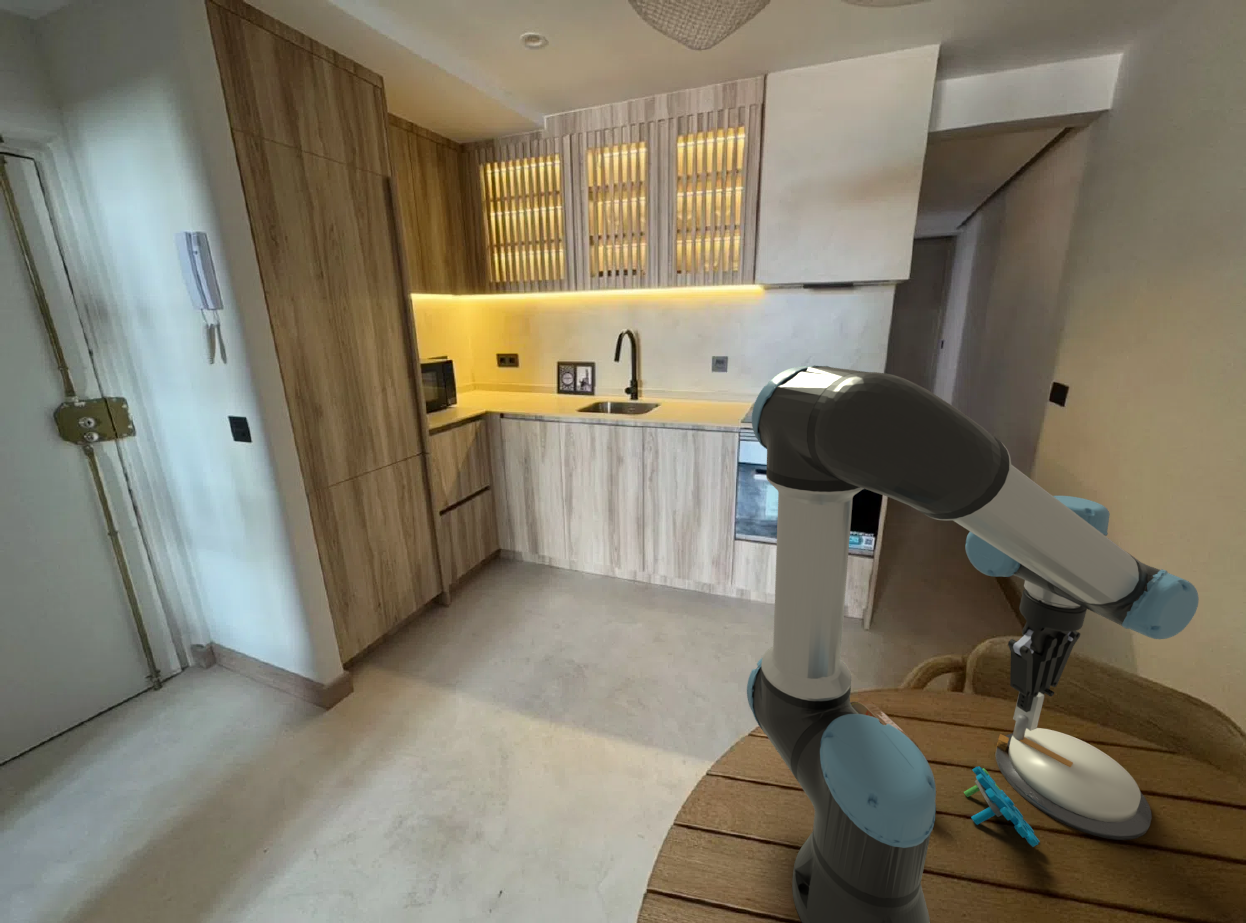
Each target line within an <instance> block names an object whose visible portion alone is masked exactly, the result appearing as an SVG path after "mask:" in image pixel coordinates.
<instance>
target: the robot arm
mask: <svg viewBox="0 0 1246 923" xmlns="http://www.w3.org/2000/svg"><path fill="white" fill-rule="evenodd" d="M751 411H752V412H751V427H752V431H753V433H754V434H753V435H754V436H755V438H756V440H757V441H758V442H759V444H760V446H762V447H763V448H764V449H766V473H765V474H766V481H768V482H769V483H770V484H771V486H773V487H774V488H775V489H776V490H777V493H778V494H777V495H778V497H777V499H778V500H777V522H776V523H777V529H776V530H777V531H776V551H775V552H776V555H775V582H774V583H775V584H774V585H775V586H774V609H773V610H774V615H773V616H774V617H773V618H774V619H773V639H772V640H773V642H772V643H773V645H772V647H770V648H769V649H767V650H766V651H765V652H764V654H763V656H762V657H761V658H760V659H759V660H758V661H757V663H756V666H757V667H756V668H753V669H751V672H750V674H749V676H748V680H747V683H746V684H747V685H746V698H747V702H748V706H749V709H750V710H751V713H752V714H753V717H754V720H755V722H756V723H757V725H758V727H759V728H760V729H761V731H763V733H764V735H765V736H766V737H767V739H768V740H769V742H770V743H771V745H772V746H773V747H774V748H775V750H776V751H777V753H778V754H779V756H780V758H781V759H782V761H783V762H784V763H785V765H786V766H787V768H788V770H790V772H791V773H792V776H793V777H794V778H795V779H796V781H797V782H798V784H799V786H800V787H801V788H802V790H803V791H804V793H805V795H806V796H807V798H808V799H809V801H810V802H811V804H812V806H813V810H814V816H813V817H814V818H813V825H812V826H813V827H812V832H811V833H810V834H809V835H808V838H807V839H806V840H805V841H804V843H803V844H802V846H801V848H800V849H799V850H798V853H797V855H796V858H795V860H794V866H793V871H792V881H791V882H792V883H791V884H792V887H791V890H792V897H793V902H794V906H795V909H796V912H797V915H798V917H799V919H800V921H801V923H931V921H930V915H929V910H928V907H927V903H926V899H925V895H924V892H923V887H922V879H923V872H924V868H925V864H926V863H925V862H926V860H927V859H926V858H927V854H928V848H929V844H930V840H931V835H932V832H933V829H934V826H935V821H936V812H937V811H936V810H937V807H936V806H937V805H936V799H937V798H936V796H937V794H936V793H937V789H936V788H937V787H936V780H935V776H934V774H933V773H934V772H933V771H932V768H931V766H930V764H929V762H928V760H927V759H926V757H925V755H924V754H923V752H922V751H920V750H921V749H920V747H919V746H918V747H919V748H918V747H917V746H916V745H915V744H914V743H913V742H912V741H911V740H910V739H909V738H908V737H907V736H906V735H905V734H903V733H902V732H901V731H899V730H898V729H897V728H895V727H893V726H892V725H890V724H887V725H882V724H881V723H880V722H879V719H877V718H875V717H871V716H868V715H863V714H858V713H857V712H856V711H855V709H854V708H853V707H852V705H851V703H850V702H851V692H852V673H851V670H850V668H849V667H848V665H847V664H846V663H845V662H844V660H842V658H841V656H842V653H841V652H842V644H843V642H842V640H843V631H844V630H843V628H844V616H845V602H846V601H845V600H846V587H847V576H848V575H847V574H848V565H849V564H848V561H849V549H850V537H851V536H850V535H851V524H852V510H853V500H854V499H853V498H854V496H855V495H857V494H858V493H859V492H861V491H862V490H868V491H871V492H873V493H875V494H879V495H882V496H884V497H888V498H890V499H893V500H896V501H897V502H900V503H902V504H904V505H908V506H910V507H911V508H913V509H915V510H917V511H919V512H920V513H922V514H923V515H925V516H927V517H928V518H931V519H934V520H938V521H953V522H954V523H956V524H958V525H959V526H961V527H963V528H964V529H966V530H967V531H969V532H968V534H967V536H966V540H965V546H964V547H965V553H966V555H967V558H968V560H969V562H970V563H971V564H972V566H973V567H974V568H975V569H976V570H977V571H979V572H980V573H981V574H983V575H985V576H987V577H988V576H990V577H997V578H998V577H1003V578H1005V577H1007V578H1009V577H1012V576H1015V577H1018V578H1019V579H1021V580H1024V584H1023V587H1024V589H1023V590H1022V593H1021V594H1022V595H1021V599H1020V603H1019V611H1020V614H1021V615H1022V616H1023V617H1024V619H1025V621H1026V623H1025V625H1024V627H1023V628H1022V631H1021V634H1022V636H1021V638H1019V640H1015V639H1013V638H1012V639H1010V640H1009V641H1007V642H1008V643H1007V645H1008V648H1009V651H1010V671H1009V672H1010V675H1009V676H1010V678H1009V680H1010V681H1009V682H1010V684H1009V685H1010V687H1011V688H1013V689H1014V690H1016V691H1017V692H1018V696H1017V701H1016V705H1015V709H1014V713H1013V716H1012V720H1014V721H1015V722H1016V719H1017V715H1018V714H1023V715H1025V716H1026V717H1028V723H1027V727H1026V728H1027V729H1028V730H1030V731H1032V730H1034V729H1037V728H1038V725H1039V722H1040V721H1039V720H1040V716H1041V711H1042V707H1043V703H1044V700H1045V696H1046V695H1047V696H1048V697H1053V696H1054V694H1055V692H1054V691H1053V690H1052V689H1051V687H1052V688H1056V687H1057V686H1058V684H1059V681H1060V679H1061V677H1062V674H1063V671H1064V670H1065V668H1066V665H1067V663H1068V660H1069V658H1070V656H1071V654H1072V650H1073V648H1074V646H1075V644H1076V643H1077V642H1078V640H1079V639H1080V637H1081V632H1079V630H1081V629H1083V626H1084V622H1085V618H1086V614H1087V611H1088V610H1089V611H1091V612H1093V613H1094V614H1097V615H1099V616H1101V617H1103V618H1104V619H1108V620H1109V621H1111V622H1114V623H1116V624H1118V625H1120V626H1122V628H1124V629H1127V630H1132V631H1133V632H1135V633H1138V634H1140V635H1143V636H1145V637H1147V638H1151V639H1154V640H1166V639H1170V638H1173V637H1175V636H1176V635H1178V634H1179V633H1181V632H1182V631H1183V630H1184V629H1185V628H1186V627H1188V625H1189V624H1190V623H1191V621H1192V620H1193V618H1194V616H1195V615H1196V613H1197V609H1198V607H1199V601H1200V600H1199V593H1198V590H1197V588H1196V587H1195V585H1194V584H1193V583H1191V582H1190V581H1189V580H1187V579H1184V578H1182V577H1180V576H1177V575H1174V574H1172V573H1169V572H1168V570H1166V569H1162V568H1161V569H1159V568H1155V567H1153V566H1151V565H1148V564H1146V563H1143V562H1142V561H1140V560H1139V559H1137V558H1136V557H1135V556H1133V555H1132V554H1130V553H1129V552H1127V551H1126V550H1124V549H1123V548H1122V547H1120V546H1119V545H1118V544H1117V543H1115V542H1114V541H1113V540H1111V539H1110V538H1109V537H1108V534H1109V533H1108V528H1109V522H1110V517H1111V516H1110V510H1108V508H1107V507H1106V506H1105V505H1103V504H1101V503H1098V502H1097V501H1094V500H1090V499H1086V498H1082V497H1078V496H1077V497H1076V496H1070V495H1053V494H1051V493H1050V492H1048V491H1047V490H1046V489H1044V488H1043V487H1042V486H1040V485H1039V484H1038V483H1036V482H1035V481H1034V480H1032V479H1031V478H1030V477H1029V476H1027V475H1026V474H1024V473H1023V472H1022V471H1021V470H1020V469H1018V468H1017V467H1015V466H1014V465H1013V464H1012V459H1011V455H1010V452H1009V450H1008V448H1007V447H1006V446H1005V444H1004V443H1003V442H1002V441H1001V440H999V439H998V437H996V436H994V435H993V434H992V433H990V432H989V431H987V429H985V427H983V426H982V425H980V424H979V423H977V422H976V421H975V420H973V419H972V418H971V417H969V416H967V415H966V414H964V413H963V412H962V411H960V410H959V409H958V408H957V407H955V406H954V405H952V404H951V403H949V402H947V401H946V400H944V399H942V398H941V397H939V396H938V395H936V394H935V393H933V392H931V391H930V390H928V389H926V388H925V387H922V386H921V385H918V384H917V383H916V382H913V381H910V380H908V379H906V378H903V377H901V376H897V375H895V374H890V373H886V372H885V373H884V372H875V371H872V372H871V371H862V370H854V369H846V368H839V367H838V368H837V367H833V366H832V367H831V366H828V365H816V364H815V365H807V366H805V365H804V366H795V367H791V368H788V369H785V370H783V371H781V372H780V373H778V374H776V375H775V376H773V377H772V378H771V379H770V380H769V381H768V383H767V384H765V386H763V387H762V388H761V390H760V392H759V394H757V397H756V399H755V401H754V404H753V406H752V410H751ZM919 749H920V750H919Z"/></svg>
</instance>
